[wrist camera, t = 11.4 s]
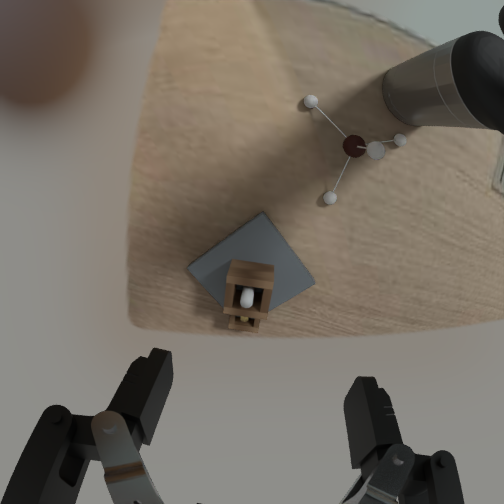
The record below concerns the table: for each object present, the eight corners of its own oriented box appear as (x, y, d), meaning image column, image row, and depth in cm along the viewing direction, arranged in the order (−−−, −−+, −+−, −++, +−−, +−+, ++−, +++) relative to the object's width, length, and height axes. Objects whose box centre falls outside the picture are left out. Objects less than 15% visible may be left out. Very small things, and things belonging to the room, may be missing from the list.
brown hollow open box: (274, 265, 40) (274, 282, 36) (262, 325, 45) (261, 346, 40) (232, 258, 41) (226, 275, 36) (225, 320, 45) (220, 340, 40)
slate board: (263, 211, 39) (260, 227, 32) (314, 279, 42) (320, 306, 36) (189, 264, 43) (174, 288, 36) (241, 322, 46) (236, 351, 40)
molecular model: (323, 203, 38) (343, 234, 27) (301, 97, 33) (314, 78, 21) (408, 189, 36) (454, 213, 24) (392, 88, 31) (437, 73, 19)
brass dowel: (246, 306, 44) (245, 313, 42) (251, 311, 44) (249, 319, 42) (240, 310, 44) (238, 317, 42) (245, 315, 44) (243, 322, 42)
